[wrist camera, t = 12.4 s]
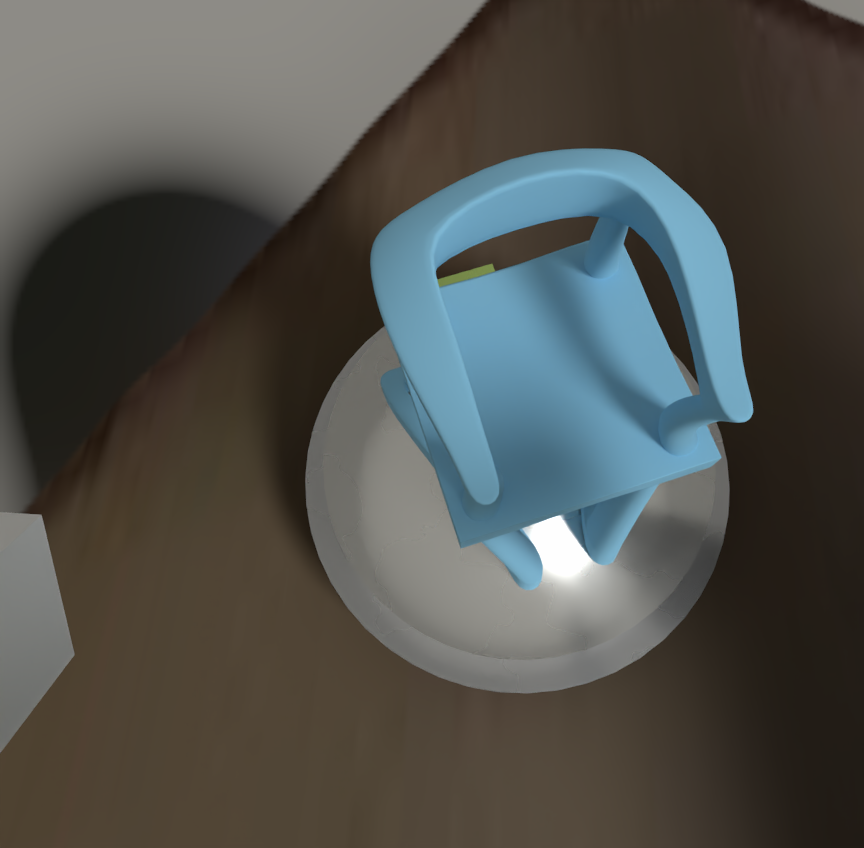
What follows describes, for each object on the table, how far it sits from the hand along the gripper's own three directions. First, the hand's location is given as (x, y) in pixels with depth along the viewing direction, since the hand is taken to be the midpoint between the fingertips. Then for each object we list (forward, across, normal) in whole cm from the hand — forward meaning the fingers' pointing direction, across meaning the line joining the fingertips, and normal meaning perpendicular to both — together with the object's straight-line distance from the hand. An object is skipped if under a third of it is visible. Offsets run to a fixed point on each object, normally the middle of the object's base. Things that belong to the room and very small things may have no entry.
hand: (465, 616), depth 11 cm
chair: (+14, +1, -4) cm, 14 cm away
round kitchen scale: (+17, +1, -8) cm, 19 cm away
